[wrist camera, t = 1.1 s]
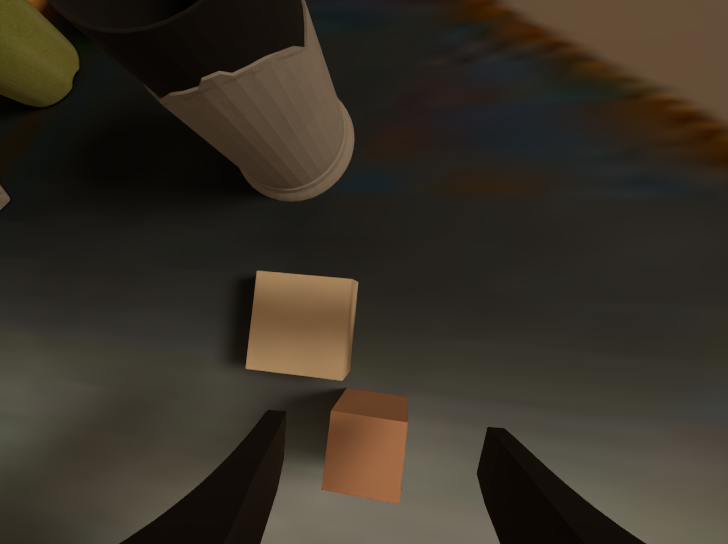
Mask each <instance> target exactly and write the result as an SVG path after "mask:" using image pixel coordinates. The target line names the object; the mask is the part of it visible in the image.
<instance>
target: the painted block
mask: <svg viewBox="0 0 728 544" xmlns="http://www.w3.org/2000/svg"><path fill="white" fill-rule="evenodd" d="M407 425H408V407H407V397H403V396H397V395H390V394H383V393H377V392H370V391H363V390H356V389H350V388H346V390H345V391H344V393H343V394H342V396H341V397H340V398H339V400H338V401H337V403H336V404H335V406H334V407H333V408H332V410H331V415H330V424H329V432H328V440H327V449H326V457H325V465H324V474H323V482H322V490H325V491H331V492H336V493H341V494H347V495H352V496H357V497H363V498H368V499H373V500H379V501H384V502H389V503H395V504H399V502H400V493H401V483H402V473H403V464H404V454H405V444H406V435H407Z"/></svg>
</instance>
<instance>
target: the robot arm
mask: <svg viewBox="0 0 728 544" xmlns="http://www.w3.org/2000/svg"><path fill="white" fill-rule="evenodd" d="M285 425H286V411H274V410H268V411H267V412H266V413H265V414H264V415H263V417H262V418H261V419H260V421H259V422H258V423H257V424H256V426H255V427H254V428H253V429H252V431H251V432H250V433H249V434H248V435H247V437H246V438H245V439H244V440H243V441H242V442H241V443H240V444H239V446H238V447H237V448H236V449H235V450H234V451H233V452H232V453H231V454H230V455H229V456H228V457H227V458H226V459H225V460H224V461H223V462H222V463H221V464H220V465H219V466H218V467H217V468H216V469H215V470H214V471H213V472H212V473H211V474H210V475H209V476H208V477H207V478H206V479H205V480H204V481H203V482H202V483H200V484H199V485H198V486H197V487H196V488H195V489H194V490H192V491H191V492H190V493H189V494H188V495H186V496H185V497H184V498H183V499H181V500H180V501H179V502H178V503H176V504H175V505H174V506H173V507H171V508H170V509H169V510H168V511H166V512H165V513H164V514H162V515H161V516H159V517H158V518H157V519H155V520H154V521H153V522H151V523H150V524H148V525H147V526H145V527H144V528H142V529H141V530H139V531H138V532H136V533H135V534H133V535H132V536H130V537H129V538H127V539H126V540H124V541H123V542H121V543H119V544H260V543H261V540H262V536H263V533H264V530H265V527H266V524H267V521H268V518H269V515H270V511H271V508H272V505H273V502H274V499H275V496H276V492H277V489H278V484H279V479H280V475H281V470H282V465H283V460H284V444H285ZM477 476H478V480H479V484H480V488H481V492H482V495H483V499H484V503H485V505H486V508H487V511H488V513H489V516H490V519H491V521H492V524H493V526H494V529H495V531H496V534H497V536H498V539H499V541H500V544H646V543H644V542H643V541H641V540H640V539H638V538H637V537H635V536H634V535H632V534H631V533H629V532H628V531H626V530H625V529H623V528H622V527H620V526H619V525H618V524H616V523H615V522H614V521H612V520H611V519H610V518H608V517H607V516H605V515H604V514H603V513H601V512H600V511H599V510H597V509H596V508H595V507H593V506H592V505H591V504H590V503H588V502H587V501H586V500H585V499H583V498H582V497H581V496H580V495H579V494H577V493H576V492H575V491H574V490H573V489H571V488H570V487H569V486H568V485H567V484H565V483H564V482H563V481H562V480H561V479H560V478H558V477H557V476H556V475H555V474H554V473H553V472H552V471H551V470H549V469H548V468H547V467H546V466H545V465H544V464H543V463H542V462H541V461H540V460H539V459H537V458H536V457H535V456H534V455H533V454H532V453H531V452H530V451H529V450H528V449H527V448H526V447H525V446H523V445H522V444H521V443H520V442H519V441H518V440H517V439H516V438H515V437H514V436H513V435H511V434H510V433H509V432H508V431H507V430H506V429H505V428H494V427H488V428H487V432H486V436H485V440H484V445H483V449H482V453H481V457H480V462H479V466H478V470H477Z"/></svg>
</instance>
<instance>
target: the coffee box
mask: <svg viewBox="0 0 728 544" xmlns="http://www.w3.org/2000/svg"><path fill="white" fill-rule="evenodd" d="M9 201H10V198H9V196H8V195H7V193H6V192H5V191H4V189H3V188H2V187H1V185H0V210H1V209H2V208H3V207H4V206H5V205H6V204H7V203H8V202H9Z"/></svg>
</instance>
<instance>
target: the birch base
mask: <svg viewBox="0 0 728 544" xmlns="http://www.w3.org/2000/svg"><path fill="white" fill-rule="evenodd" d="M357 289H358V282H357V281H355V280H353V279H344V278H333V277H321V276H310V275H299V274H288V273H276V272H265V271H257V276H256V284H255V292H254V301H253V309H252V318H251V326H250V334H249V343H248V351H247V360H246V368H245V369H252V370H260V371H268V372H276V373H284V374H292V375H300V376H308V377H316V378H324V379H332V380H340V381H342V380H343V379H344V378H345V377H346V376H347V374H348V373H349V372H350V361H351V351H352V341H353V330H354V320H355V310H356V299H357Z"/></svg>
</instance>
